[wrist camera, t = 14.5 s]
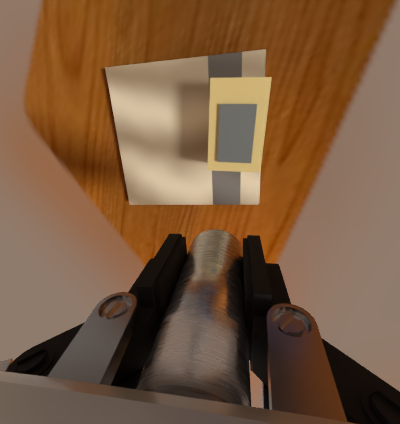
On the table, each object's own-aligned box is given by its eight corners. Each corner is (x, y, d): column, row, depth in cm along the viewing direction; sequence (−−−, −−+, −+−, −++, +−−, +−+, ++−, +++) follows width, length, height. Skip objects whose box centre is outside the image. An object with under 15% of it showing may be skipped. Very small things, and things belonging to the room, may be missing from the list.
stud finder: (215, 86, 20) (209, 76, 16) (264, 86, 20) (272, 76, 16) (212, 163, 23) (206, 170, 19) (256, 165, 22) (260, 173, 18)
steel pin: (182, 227, 11) (40, 493, 3) (245, 224, 11) (275, 545, 2) (190, 278, 12) (102, 573, 4) (248, 278, 12) (275, 621, 4)
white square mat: (110, 70, 22) (105, 67, 21) (264, 53, 19) (266, 49, 19) (133, 201, 27) (129, 204, 26) (258, 201, 24) (259, 204, 24)
